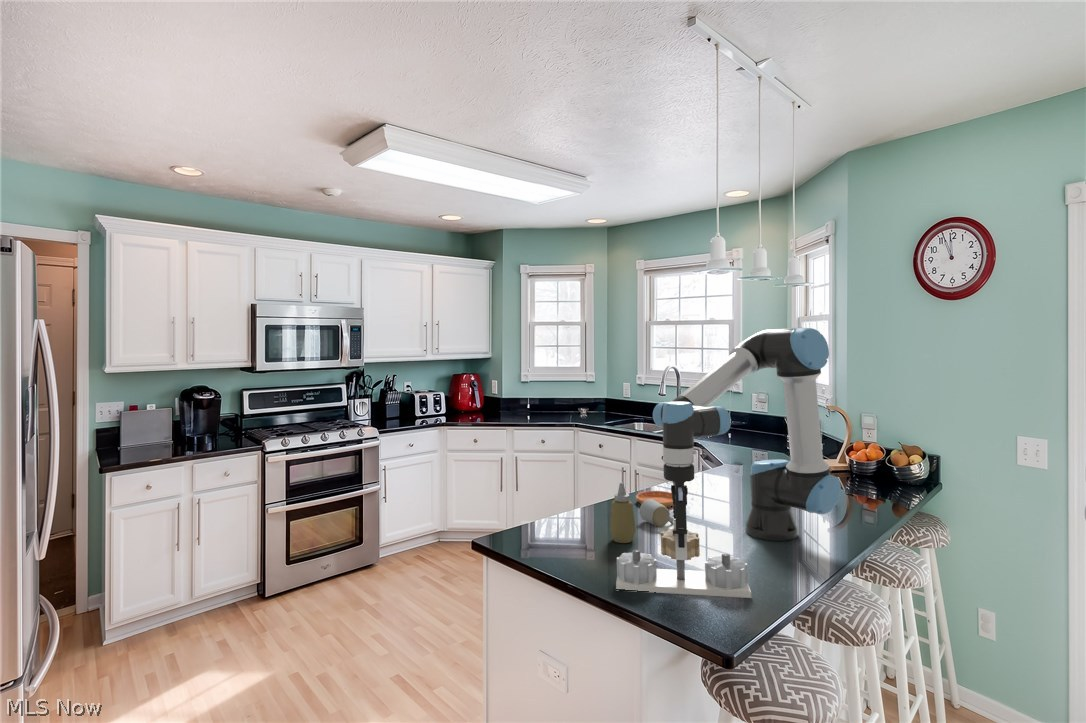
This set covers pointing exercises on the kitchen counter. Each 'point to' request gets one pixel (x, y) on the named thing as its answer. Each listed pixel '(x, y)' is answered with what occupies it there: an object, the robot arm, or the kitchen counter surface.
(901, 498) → the kitchen counter surface
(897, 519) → the kitchen counter surface
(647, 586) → the gear board
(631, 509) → the squeeze bottle
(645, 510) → the ceramic mug
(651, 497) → the saucer
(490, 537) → the kitchen counter surface
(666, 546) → the wooden gear
